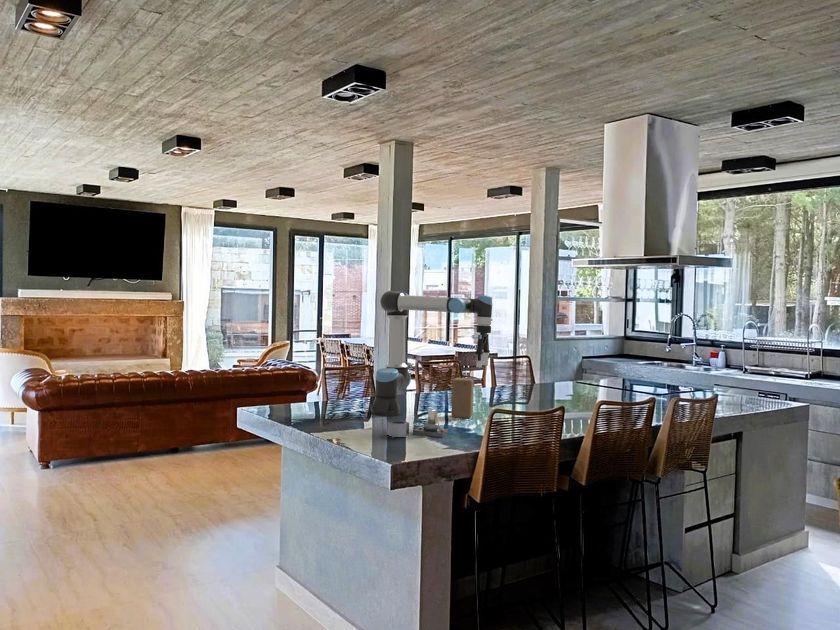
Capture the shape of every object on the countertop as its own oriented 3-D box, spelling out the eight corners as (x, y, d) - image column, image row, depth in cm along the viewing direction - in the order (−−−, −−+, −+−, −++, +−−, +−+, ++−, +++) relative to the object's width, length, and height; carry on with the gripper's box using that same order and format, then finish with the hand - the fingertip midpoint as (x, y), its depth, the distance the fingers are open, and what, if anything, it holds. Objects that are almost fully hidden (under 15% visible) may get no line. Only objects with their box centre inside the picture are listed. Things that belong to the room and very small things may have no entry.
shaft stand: (412, 434, 319) (413, 410, 318) (419, 430, 328) (420, 407, 328) (442, 437, 314) (443, 413, 314) (448, 433, 324) (449, 409, 323)
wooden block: (470, 418, 367) (471, 380, 366) (451, 417, 369) (452, 379, 368) (472, 415, 377) (474, 378, 376) (453, 414, 379) (455, 377, 378)
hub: (384, 436, 312) (385, 422, 311) (392, 433, 320) (392, 419, 320) (404, 438, 309) (404, 424, 309) (410, 435, 317) (411, 421, 317)
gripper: (485, 326, 353) (483, 368, 353) (495, 324, 377) (494, 364, 377) (471, 325, 355) (469, 367, 356) (482, 324, 379) (480, 363, 379)
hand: (482, 366), depth 366 cm, fingers open, 13 cm apart
